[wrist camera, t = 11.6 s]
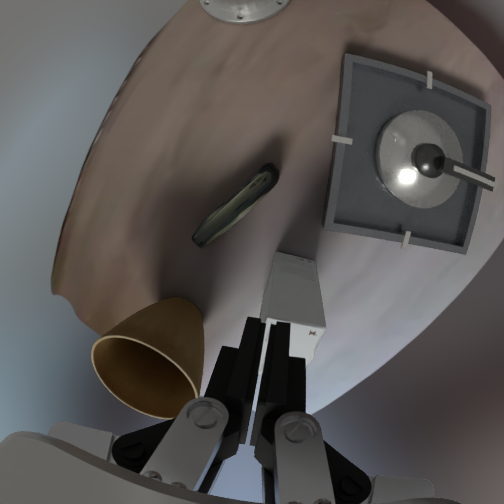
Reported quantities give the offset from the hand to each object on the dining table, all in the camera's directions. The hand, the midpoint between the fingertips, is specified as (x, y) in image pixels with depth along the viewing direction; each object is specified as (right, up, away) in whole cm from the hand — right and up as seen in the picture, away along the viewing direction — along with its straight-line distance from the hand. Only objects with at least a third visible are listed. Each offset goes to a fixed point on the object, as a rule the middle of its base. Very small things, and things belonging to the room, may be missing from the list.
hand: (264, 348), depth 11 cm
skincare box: (+5, 0, +29) cm, 30 cm away
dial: (+22, +15, +18) cm, 32 cm away
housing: (+20, +16, +20) cm, 33 cm away
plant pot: (-12, -6, +34) cm, 37 cm away
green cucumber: (-3, +10, +26) cm, 28 cm away
